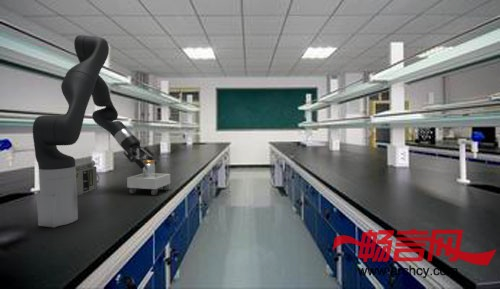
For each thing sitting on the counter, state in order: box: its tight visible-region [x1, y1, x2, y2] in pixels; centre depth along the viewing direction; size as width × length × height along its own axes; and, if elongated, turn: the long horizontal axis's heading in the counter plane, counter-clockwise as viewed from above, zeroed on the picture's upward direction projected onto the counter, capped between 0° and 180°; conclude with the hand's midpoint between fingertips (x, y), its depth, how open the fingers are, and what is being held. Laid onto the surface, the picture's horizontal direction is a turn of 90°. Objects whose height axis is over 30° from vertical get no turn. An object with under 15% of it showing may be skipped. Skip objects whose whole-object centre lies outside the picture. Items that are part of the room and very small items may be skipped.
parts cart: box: [126, 172, 171, 196], centre depth 120 cm, size 12×14×8 cm
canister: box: [142, 159, 156, 178], centre depth 120 cm, size 5×5×10 cm
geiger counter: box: [75, 159, 100, 197], centre depth 121 cm, size 14×6×25 cm
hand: (149, 165), depth 119 cm, fingers open, 8 cm apart
